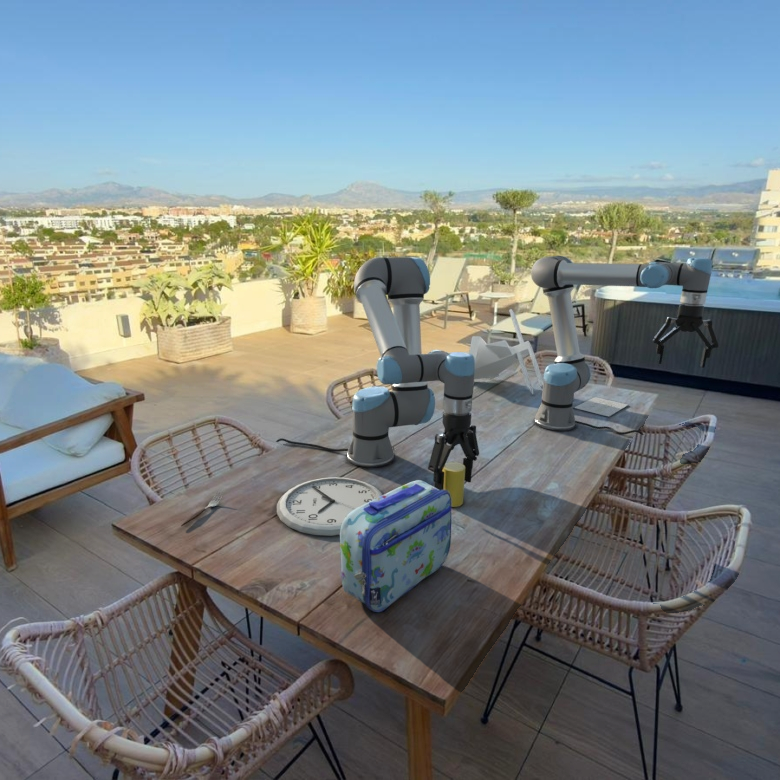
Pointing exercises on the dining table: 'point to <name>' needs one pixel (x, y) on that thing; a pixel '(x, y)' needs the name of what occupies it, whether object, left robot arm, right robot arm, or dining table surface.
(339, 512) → the wall clock
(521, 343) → the white plastic object
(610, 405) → the invitation card
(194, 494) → the dining table surface
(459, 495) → the can
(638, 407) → the dining table surface
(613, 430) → the right robot arm
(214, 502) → the fork
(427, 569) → the lunch box
